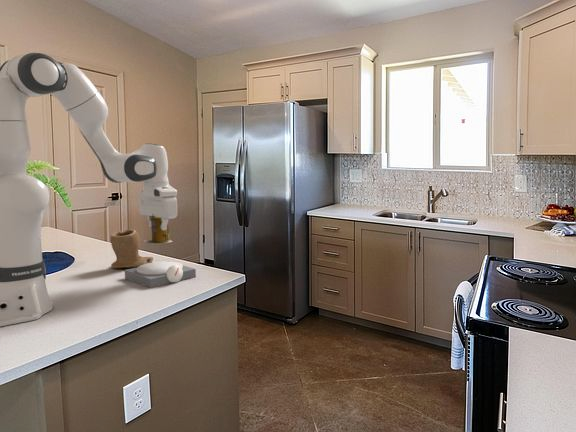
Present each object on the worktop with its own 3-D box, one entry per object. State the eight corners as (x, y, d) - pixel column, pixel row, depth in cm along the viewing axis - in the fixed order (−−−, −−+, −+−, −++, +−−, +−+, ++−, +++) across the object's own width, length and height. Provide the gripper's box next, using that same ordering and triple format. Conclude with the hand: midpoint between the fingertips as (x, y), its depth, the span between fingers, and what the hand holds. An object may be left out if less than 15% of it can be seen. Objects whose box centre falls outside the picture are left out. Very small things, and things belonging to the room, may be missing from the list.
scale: (152, 288, 145) (151, 270, 145) (125, 278, 158) (124, 261, 158) (197, 277, 158) (197, 260, 158) (168, 268, 172) (168, 253, 171)
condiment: (173, 242, 157) (171, 208, 155) (149, 244, 152) (147, 210, 150) (166, 239, 163) (165, 206, 161) (143, 241, 158) (141, 208, 156)
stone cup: (107, 271, 167) (104, 233, 165) (115, 264, 179) (113, 228, 177) (148, 270, 169) (146, 232, 167) (153, 263, 181) (152, 227, 179)
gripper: (133, 189, 159) (135, 227, 161) (163, 192, 146) (165, 233, 147) (149, 188, 164) (151, 225, 166) (180, 191, 150) (181, 230, 152)
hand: (158, 229), depth 156 cm, fingers closed on condiment, 6 cm apart
